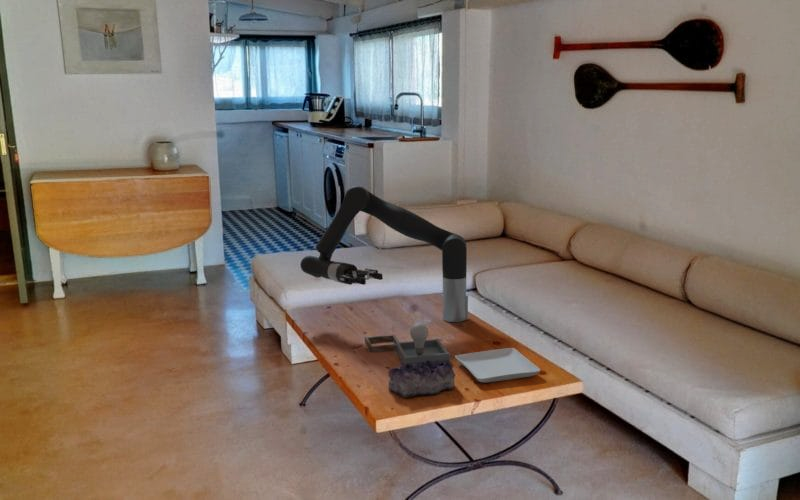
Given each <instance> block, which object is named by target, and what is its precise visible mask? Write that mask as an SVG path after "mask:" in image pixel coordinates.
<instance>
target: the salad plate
mask: <svg viewBox="0 0 800 500" xmlns="http://www.w3.org/2000/svg"><path fill="white" fill-rule="evenodd" d="M454 358H455V360H457V362H458V363H460V364H461V365H462V367H465V368H466V369H467V370H468V371H469V372H470V373H471V374H472V375H473V377H474V378H475V379H476V380H477V382H479V383H486V384H487V383H495V382H502V381H509V380H517V379H524V378H528V377H529V378H530V377H532V376H533V377H534V376H535V375H537V374H539V373H540V372H541V369H540V368H539V367H538V366H537V365H536V364H534V363H533V362H532V361H530V360H529V359H528V358H527V357H525V355H523V354H522V353H521V352H519V350H517V349H516V348H515V347H509V348H508V347H507V348H500V349H499V348H498V349H491V350H484V351H476V352H469V353H464V354H462V353H461V354H456V355H455V356H454Z"/></svg>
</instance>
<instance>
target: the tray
mask: <svg viewBox="0 0 800 500" xmlns="http://www.w3.org/2000/svg"><path fill="white" fill-rule="evenodd" d="M395 352H396V353H397V355H398V357H399V359H400V361H401V363H402V365H404V366H406V365H407V364H409V365H411V364H412V365H414V364H418V363H420V362H424V363H425V362H426V361H427V360H429V361H432V362H435V361H439V362H441V363H446V362H447V361H449V362H450V363H451V361H450V360H451V359H450V357H451V354H450V352H449V351H448V349H446V347H445V346H444V345H443V343H442V342H441V341H440V339H438V338H434V339H426V340H425V343H424V347H423V353H422V354H421V355H418V354H417V353H416V348H415V344H414V340H411V341H399V342H398V343H396V350H395Z"/></svg>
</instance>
